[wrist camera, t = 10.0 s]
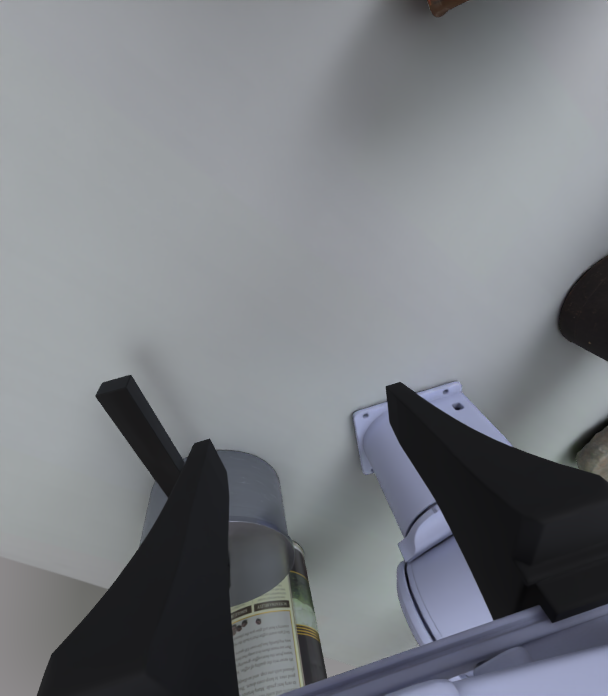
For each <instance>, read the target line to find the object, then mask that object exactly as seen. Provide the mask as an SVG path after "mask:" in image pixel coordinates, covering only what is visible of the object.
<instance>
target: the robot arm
mask: <svg viewBox="0 0 608 696" xmlns="http://www.w3.org/2000/svg"><path fill="white" fill-rule="evenodd" d="M444 390H445V391H444ZM386 394H387V402H385V403H381V404H378V405H375V406H371V407H368V408H365V409H361V410H358V411H356V412H355V413H354V414H353V422H354V428H355V433H356V439H357V445H358V450H359V456H360V462H361V467H362V471H363V473H364V474H365V475H368V474H372V473H375V475H376V477H377V480H378V482H379V484H380V486H381V488H382V491H383V493H384V495H385V497H386V499H387V502H388V504H389V506H390V508H391V510H392V513H393V515H394V517H395V519H396V521H397V524H398V526H399V528H400V530H401V532H402V534H403V537H404V539H403V540H402V541H401V542H399V543H398V547H399V549H400V551H401V554H402V556H403V558H404V561H402V562H400V564H399V565H398V567H397V593H398V597H399V601H400V605H401V608H402V611H403V613H404V616H405V618H406V621H407V623H408V625H409V627H410V629H411V631H412V633H413V635H414V637H415V639H416V641H417V642H418V644H419V647H416V648H413V649H410V650H407V651H405V652H402V653H399V654H396V655H393V656H390V657H387V658H384V659H381V660H379V661H376V662H373V663H370V664H367V665H364V666H361V667H358V668H355V669H353V670H350V671H347V672H344V673H341V674H339V675H335V676H332V677H329V678H327V679H324V680H321V681H318V682H315V683H312V684H309V685H306V686H303V687H301V688H298V689H295V690H292V691H289V692H286V693H283V694H280V695H278V696H608V482H607V481H606V480H605V479H604V478H602V477H601V476H600V475H598V474H594V473H590V472H587V471H583V470H580V469H576V468H572V467H569V466H565V465H562V464H559V463H556V462H553V461H550V460H547V459H544V458H541V457H538V456H535V455H532V454H529V453H527V452H524V451H522V450H519V449H517V448H514V447H513V446H512V445H511V444H510V442H509V441H508V440H507V439H506V438H505V437H504V436H503V435H502V433H501V432H500V431H499V430H498V429H497V428H496V427H495V426H494V425H493V424H492V423H491V422H490V421H489V420H488V419H487V418H486V417H485V416H484V415H483V414H482V413H481V412H480V411H479V410H478V408H477V407H476V406H475V405H474V404H473V403H472V402H471V401H470V400H469V399H468V398H467V397H466V396H465V395H464V394H463V393H462V385H461V384H460V383H459V382H458V381H455V382H451V383H448V384H445V385H441V386H438V387H435V388H431V389H428V390H425V391H421V392H418V393H415V392H414V391H412V390H411V389H410V388H408V387H407V386H406V385H404V384H403V383H401V382H399V383H395V384H392V385H389V386H386ZM364 414H366V415H364ZM228 533H229V486H228V476H227V471H226V469H225V467H224V465H223V463H222V461H221V459H220V457H219V455H218V453H217V451H216V449H215V448H214V446H213V444H212V442H211V440H210V439H207V440H204V441H200V442H197V443H194V445H193V447H192V449H191V451H190V453H189V456H188V458H187V460H186V462H185V465H184V467H183V469H182V471H181V473H180V476H179V478H178V480H177V482H176V484H175V486H174V488H173V490H172V492H171V494H170V496H169V498H168V500H167V502H166V503H165V505H164V507H163V509H162V511H161V512H160V514H159V516H158V518H157V520H156V521H155V523H154V525H153V526H152V528H151V530H150V531H149V533H148V535H147V536H146V538H145V539H144V541H143V542H142V544H141V546H140V547H139V549H138V550H137V551H136V553H135V554H134V556H133V557H132V559H131V560H130V561H129V563H128V564H127V566H126V567H125V568H124V570H123V571H122V572H121V574H120V575H119V577H118V578H117V579H116V581H115V582H114V583H113V584H112V586H111V587H110V588H109V589H108V591H107V592H106V593H105V595H104V596H103V597H102V598H101V599H100V601H99V602H98V603H97V604H96V605H95V607H94V608H93V609H92V610H91V611H90V613H89V614H88V615H87V616H86V617H85V618H84V619H83V620H82V622H81V623H80V624H79V625H78V626H77V627H76V628H75V629H74V630H73V631H72V633H71V634H70V635H69V636H68V637H67V638H66V639H65V640H64V641H63V643H62V644H61V645H60V646H59V647H58V648H57V649H56V650H55V651H54V652H53V653H52V655H51V658H50V660H49V663H48V665H47V668H46V670H45V673H44V676H43V679H42V682H41V685H40V688H39V691H38V694H37V696H239V688H238V679H237V671H236V662H235V652H234V642H233V632H232V620H231V608H230V595H229V579H228Z"/></svg>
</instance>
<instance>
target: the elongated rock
mask: <svg viewBox="0 0 608 696" xmlns="http://www.w3.org/2000/svg"><path fill="white" fill-rule="evenodd" d="M576 462H577V465H578V468H579V469H580V470H583V471H587V472H590V473H594V474H598V475H600V476H601V477H602V478H604V479H605V480H606V481H607V482H608V426H606V427H605V428H604V429H603V430H602V431H600V432H599V433H596V434H595V436H594V437H593V438H592V439H591V441H590V442H589V443H587V444H586V445H585V446H584V448H582V450H581V451H579V452H578V453H577V456H576Z"/></svg>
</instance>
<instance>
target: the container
mask: <svg viewBox="0 0 608 696" xmlns="http://www.w3.org/2000/svg"><path fill="white" fill-rule="evenodd" d="M559 327H560V331H561V333H562V335H563V336H564V337H565V338H566V339H568V340H569V341H570V342H573V343H575V344H577V345H578V346H580V347H582V348H584V349H586V350H588V351H590V352H591V353H593V354H595V355H597V356H599V357H601V358H603V359H604V360H606V361H608V256H606V257H605V258H604V259H602V260H601V261H599V262H598V263H597V264H595V265H594V266H593V267H592V268H591V269H589V271H587V272H586V273H585V274H584V275H583V276H582V278H581V279H580V280H579V281H578V282H577V283H576V285H575V286H574V287H573V289H572V290H571V291H570V293H569V295H568V296H567V298H566V300H565V302H564V305H563V307H562V310H561V314H560V323H559Z"/></svg>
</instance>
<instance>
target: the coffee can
mask: <svg viewBox="0 0 608 696" xmlns="http://www.w3.org/2000/svg"><path fill="white" fill-rule="evenodd" d="M292 542H293V541H292ZM293 545H294V549H295V560H294V564H293V567H292V569H291V570H290V572H289V574H288V575H287V576H286V577H285V579H284V580H283V581H281V582H280V583H279V584H278V585H277V586H276V587H274V588H273V589H272V590H270V591H268V592H267V593H265V594H263V595H261V596H260V597H258V598H255V599H253V600H251V601H248V602H246V603H243V604H240V605H237V606H233V607H230V608H231V620H232V632H233V642H234V652H235V662H236V671H237V679H238V688H239V696H278V695H280V694H283V693H286V692H289V691H292V690H295V689H298V688H301V687H303V686H306V685H309V684H312V683H315V682H318V681H321V680H324V679H327V674H326V669H325V664H324V659H323V654H322V649H321V643H320V638H319V633H318V628H317V623H316V617H315V612H314V607H313V602H312V597H311V591H310V586H309V581H308V576H307V570H306V566H305V560H304V552H303V550H302V548H301V547H300V546H299V545H298V544H297V543H295V542H293Z"/></svg>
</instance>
